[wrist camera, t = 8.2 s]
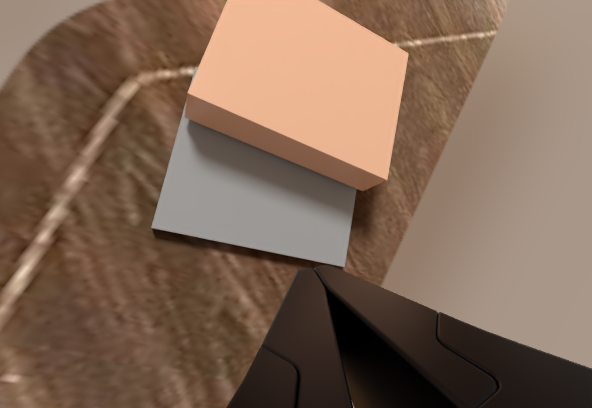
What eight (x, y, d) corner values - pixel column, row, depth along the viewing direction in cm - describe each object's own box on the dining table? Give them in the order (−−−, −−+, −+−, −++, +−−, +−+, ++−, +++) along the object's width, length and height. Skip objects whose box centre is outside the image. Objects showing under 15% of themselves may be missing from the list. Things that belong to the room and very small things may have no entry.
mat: (339, 266, 20) (344, 267, 20) (152, 228, 17) (151, 227, 16) (361, 132, 22) (366, 129, 21) (194, 72, 18) (195, 66, 18)
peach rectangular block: (387, 180, 18) (408, 53, 21) (187, 92, 15) (245, -43, 18) (361, 191, 20) (383, 76, 23) (184, 118, 17) (235, -5, 20)
